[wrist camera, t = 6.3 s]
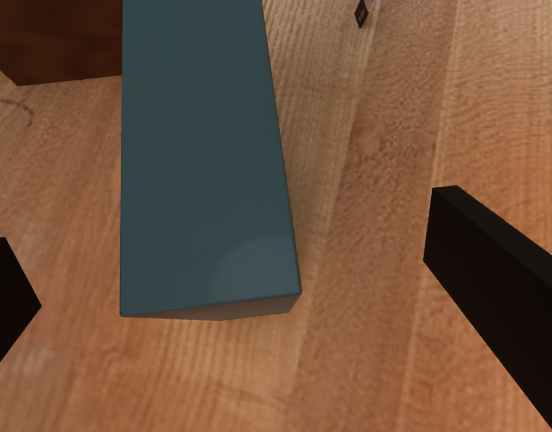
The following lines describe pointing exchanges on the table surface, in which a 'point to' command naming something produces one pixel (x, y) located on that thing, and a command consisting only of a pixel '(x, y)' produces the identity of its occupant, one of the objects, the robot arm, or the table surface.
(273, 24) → the table surface
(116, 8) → the pedestal
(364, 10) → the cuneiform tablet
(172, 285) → the teal box
